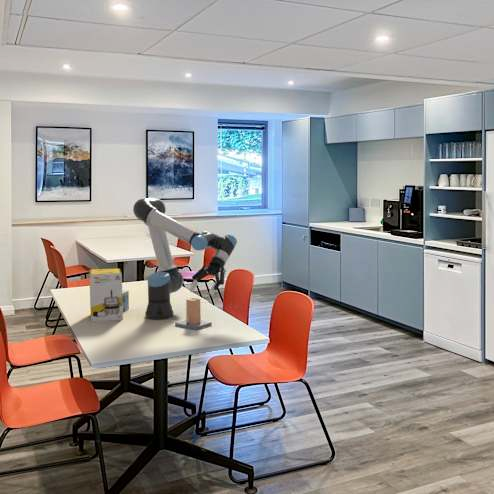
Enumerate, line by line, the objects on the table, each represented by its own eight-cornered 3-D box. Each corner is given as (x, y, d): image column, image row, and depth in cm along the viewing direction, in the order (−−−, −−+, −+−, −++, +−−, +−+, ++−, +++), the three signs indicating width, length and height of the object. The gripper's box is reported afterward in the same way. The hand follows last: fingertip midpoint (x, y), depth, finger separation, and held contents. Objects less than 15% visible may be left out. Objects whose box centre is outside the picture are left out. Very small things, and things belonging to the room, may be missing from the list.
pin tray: (175, 325, 307) (175, 316, 306) (191, 321, 316) (190, 311, 316) (196, 330, 299) (196, 320, 298) (211, 325, 308) (211, 315, 308)
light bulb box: (121, 313, 335) (121, 293, 334) (110, 312, 337) (110, 293, 336) (129, 308, 346) (128, 290, 345) (118, 308, 347) (117, 289, 346)
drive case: (186, 322, 307) (186, 299, 305) (193, 320, 311) (192, 298, 309) (193, 324, 304) (193, 300, 302) (200, 322, 308) (200, 299, 306)
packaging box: (91, 321, 316) (89, 274, 313) (90, 314, 331) (89, 269, 328) (122, 319, 320) (121, 273, 317) (120, 312, 336) (119, 268, 333)
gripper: (240, 266, 315) (222, 299, 305) (204, 262, 330) (186, 293, 320) (234, 258, 310) (215, 291, 300) (198, 253, 325) (179, 285, 315)
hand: (200, 292), depth 310 cm, fingers open, 13 cm apart
